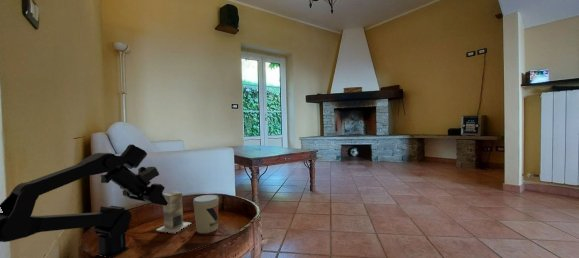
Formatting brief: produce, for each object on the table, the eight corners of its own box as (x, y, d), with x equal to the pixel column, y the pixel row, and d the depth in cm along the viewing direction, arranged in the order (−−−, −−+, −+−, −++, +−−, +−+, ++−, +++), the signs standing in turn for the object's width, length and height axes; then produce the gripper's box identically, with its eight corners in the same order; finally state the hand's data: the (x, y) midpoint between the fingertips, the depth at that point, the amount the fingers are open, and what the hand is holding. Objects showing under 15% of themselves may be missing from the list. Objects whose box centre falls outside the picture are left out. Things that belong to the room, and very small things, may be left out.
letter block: (171, 230, 95) (169, 196, 95) (164, 227, 98) (162, 194, 98) (183, 225, 100) (182, 192, 99) (176, 222, 103) (174, 191, 102)
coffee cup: (212, 235, 91) (211, 202, 91) (189, 233, 93) (187, 201, 92) (224, 224, 100) (222, 194, 100) (202, 223, 102) (201, 194, 102)
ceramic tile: (174, 233, 93) (174, 232, 93) (156, 231, 96) (156, 229, 96) (191, 224, 102) (191, 222, 102) (173, 221, 105) (173, 220, 105)
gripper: (157, 161, 85) (187, 186, 94) (130, 159, 95) (159, 182, 104) (134, 189, 78) (169, 214, 88) (107, 185, 88) (141, 207, 98)
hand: (159, 202), depth 95 cm, fingers open, 9 cm apart
